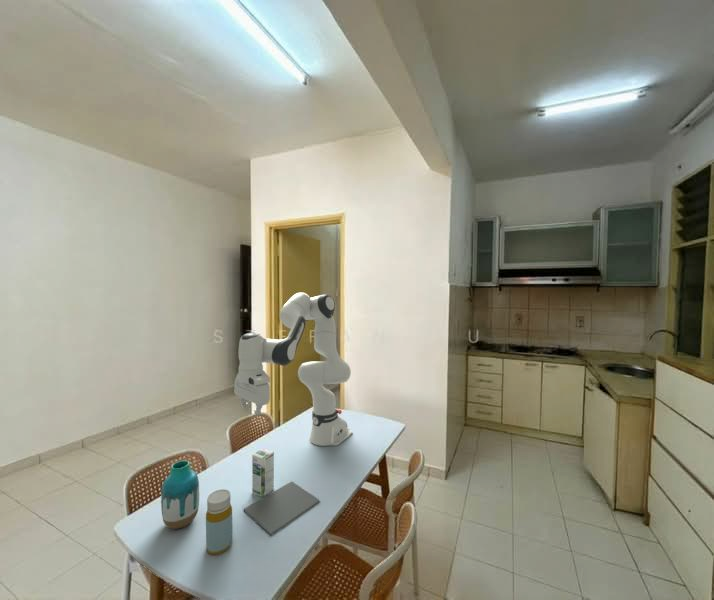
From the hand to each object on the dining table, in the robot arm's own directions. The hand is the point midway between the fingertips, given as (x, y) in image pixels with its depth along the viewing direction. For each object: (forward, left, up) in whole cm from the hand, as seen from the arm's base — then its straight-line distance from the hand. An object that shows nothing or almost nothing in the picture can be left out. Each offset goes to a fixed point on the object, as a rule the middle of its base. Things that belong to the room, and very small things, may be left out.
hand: (250, 411), depth 120 cm
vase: (+26, +2, -28) cm, 38 cm away
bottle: (+22, +20, -28) cm, 41 cm away
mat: (0, +20, -28) cm, 34 cm away
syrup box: (0, +8, -28) cm, 29 cm away
